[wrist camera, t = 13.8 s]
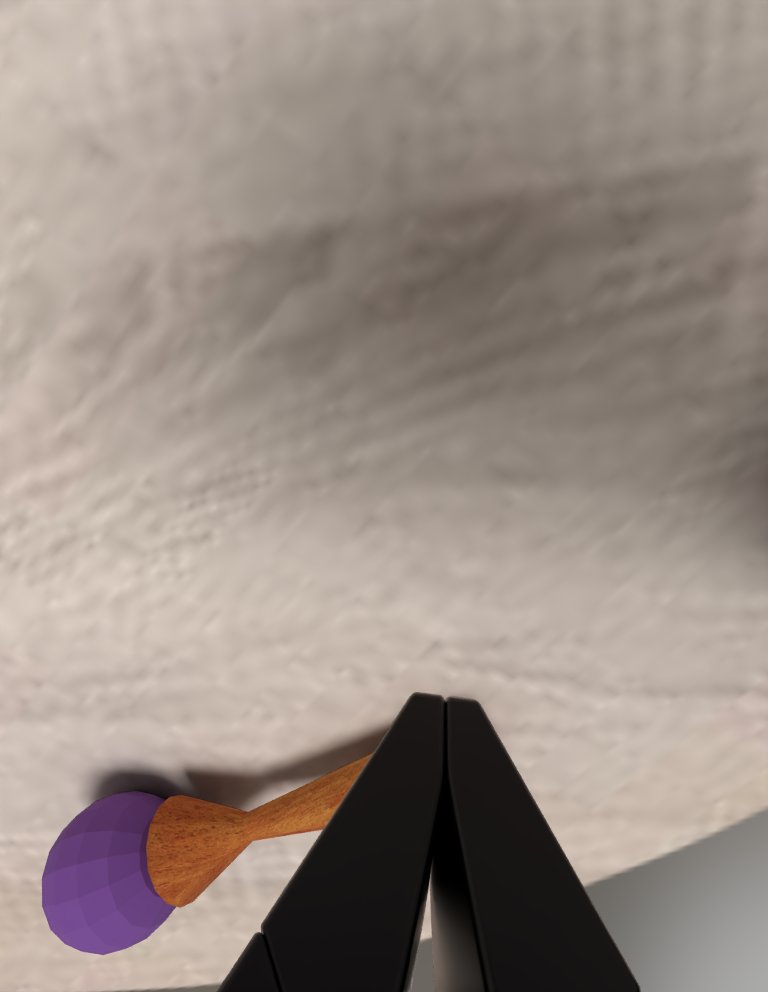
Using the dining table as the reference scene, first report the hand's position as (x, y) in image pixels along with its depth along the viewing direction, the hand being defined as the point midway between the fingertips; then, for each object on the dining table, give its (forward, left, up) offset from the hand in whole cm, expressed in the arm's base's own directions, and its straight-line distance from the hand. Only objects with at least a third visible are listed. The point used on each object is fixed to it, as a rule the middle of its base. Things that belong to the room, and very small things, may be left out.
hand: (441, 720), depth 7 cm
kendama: (+6, +17, -12) cm, 22 cm away
